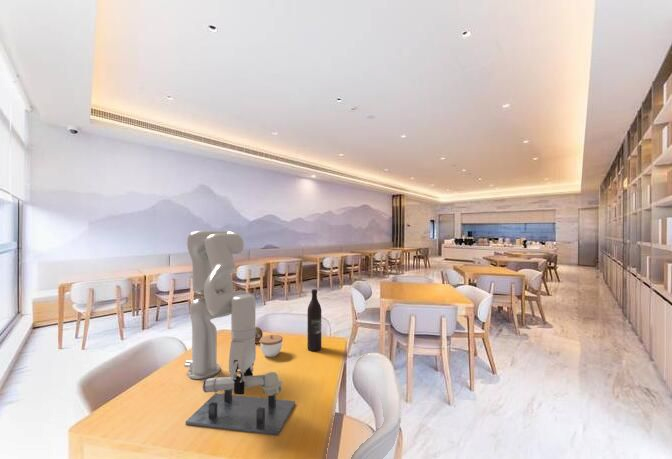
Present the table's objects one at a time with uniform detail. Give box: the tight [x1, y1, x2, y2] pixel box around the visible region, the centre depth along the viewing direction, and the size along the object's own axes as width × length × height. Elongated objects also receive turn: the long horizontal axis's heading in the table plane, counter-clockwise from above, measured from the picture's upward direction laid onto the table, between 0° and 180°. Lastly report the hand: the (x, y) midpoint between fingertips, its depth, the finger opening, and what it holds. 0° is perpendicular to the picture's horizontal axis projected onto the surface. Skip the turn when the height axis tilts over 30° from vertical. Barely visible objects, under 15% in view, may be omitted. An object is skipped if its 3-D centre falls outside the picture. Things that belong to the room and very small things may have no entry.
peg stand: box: [185, 389, 296, 437], centre depth 96 cm, size 30×16×5 cm, turn 80°
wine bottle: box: [307, 288, 322, 352], centre depth 150 cm, size 7×7×30 cm
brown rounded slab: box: [255, 326, 264, 344], centre depth 159 cm, size 15×3×8 cm, turn 81°
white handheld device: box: [202, 371, 283, 396], centre depth 96 cm, size 5×7×25 cm
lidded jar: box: [259, 334, 283, 358], centre depth 143 cm, size 11×11×9 cm
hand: (243, 388), depth 96 cm, fingers closed on white handheld device, 5 cm apart
